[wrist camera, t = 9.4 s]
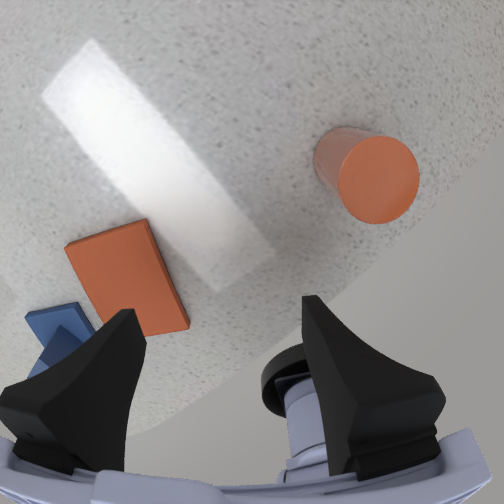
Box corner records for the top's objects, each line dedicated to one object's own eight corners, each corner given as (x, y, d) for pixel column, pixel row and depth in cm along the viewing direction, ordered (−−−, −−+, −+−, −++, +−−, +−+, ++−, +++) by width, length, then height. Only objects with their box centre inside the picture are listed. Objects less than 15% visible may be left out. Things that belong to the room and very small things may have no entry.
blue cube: (99, 354, 25) (83, 391, 20) (81, 373, 26) (66, 407, 22) (60, 324, 23) (38, 358, 19) (45, 346, 24) (26, 378, 20)
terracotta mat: (190, 323, 24) (189, 329, 23) (117, 335, 24) (114, 341, 24) (146, 218, 20) (143, 222, 19) (68, 243, 21) (63, 248, 20)
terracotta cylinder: (381, 186, 19) (421, 215, 14) (320, 199, 20) (345, 233, 15) (372, 121, 17) (415, 130, 12) (306, 133, 18) (330, 144, 13)
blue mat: (124, 375, 27) (122, 381, 26) (73, 378, 27) (71, 383, 27) (77, 301, 23) (73, 307, 22) (27, 312, 24) (23, 317, 23)
